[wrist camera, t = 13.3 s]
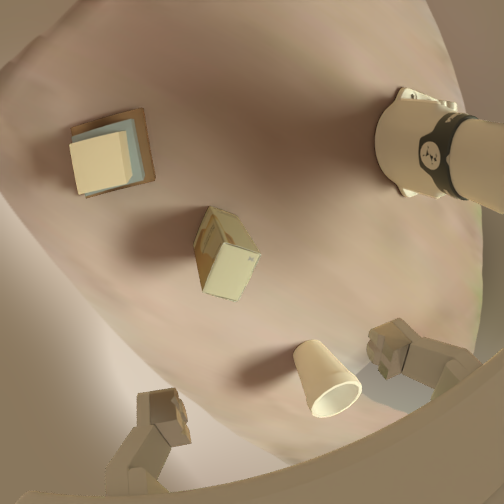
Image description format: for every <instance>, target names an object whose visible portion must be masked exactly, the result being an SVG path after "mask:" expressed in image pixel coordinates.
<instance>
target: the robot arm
mask: <svg viewBox="0 0 504 504" xmlns="http://www.w3.org/2000/svg"><path fill="white" fill-rule="evenodd" d="M375 151H376V156H377V160H378V163H379V165H380V167H381V169H382V171H383V172H384V174H385V175H386V176H387V177H388V178H389V179H390V180H392V181H393V182H394V183H395V184H397V186H398V188H399V190H400V192H401V193H402V195H403V196H404V197H408V198H410V197H413V196H415V195H417V194H422V195H425V196H429V197H432V198H435V199H439V198H440V197H441V196H444V195H445V194H448V195H449V196H451V197H453V198H456V199H461V200H471V201H473V202H476V203H478V204H480V205H483V206H485V207H487V208H489V209H492V210H494V211H496V212H498V213H500V214H503V215H504V123H498V122H491V121H484V120H479V119H478V118H477V117H475V116H472V115H469V114H466V113H458V111H457V104H456V103H454V102H450V101H443V100H437V99H435V98H432V97H430V96H427V95H425V94H422V93H420V92H417V91H415V90H412V89H409V88H401V89H400V91H399V92H398V94H397V97H396V99H395V101H394V102H393V103H392V104H391V105H390V106H389V107H388V108H387V109H386V110H385V111H384V112H383V114H382V116H381V117H380V119H379V122H378V125H377V128H376V134H375ZM368 337H369V338H370V341H369V342H368V344H367V354H368V357H369V359H370V360H371V362H372V363H373V364H376V365H378V371H379V372H380V373H381V374H382V375H383V377H384V378H385V379H386V380H387V379H390V378H392V377H394V376H396V375H398V374H400V373H402V374H403V375H405V376H407V377H409V378H412V379H414V380H416V381H418V382H420V383H422V384H424V385H427V386H429V387H431V388H433V389H435V390H434V392H433V394H432V396H431V401H430V402H429V403H427V404H426V405H424V406H422V407H421V408H419V409H417V410H415V411H414V412H412V413H410V414H408V415H407V416H405V417H403V418H401V419H399V420H398V421H396V422H394V423H392V424H390V425H388V426H386V427H384V428H382V429H380V430H378V431H376V432H374V433H372V434H370V435H368V436H366V437H364V438H362V439H359V440H357V441H355V442H353V443H350V444H348V445H346V446H343V447H341V448H339V449H336V450H334V451H331V452H329V453H326V454H324V455H321V456H318V457H316V458H313V459H310V460H308V461H305V462H302V463H299V464H296V465H293V466H290V467H287V468H284V469H280V470H277V471H274V472H270V473H267V474H263V475H260V476H256V477H252V478H248V479H244V480H240V481H235V482H231V483H226V484H221V485H216V486H211V487H205V488H199V489H193V490H186V491H179V492H170V493H169V491H168V490H167V489H166V488H164V487H163V486H162V485H161V484H160V483H159V482H158V481H157V479H158V477H159V475H160V472H161V470H162V468H163V466H164V464H165V462H166V459H167V457H168V455H169V453H170V451H171V447H176V446H181V445H187V444H191V438H190V432H189V429H188V427H187V425H186V423H187V422H188V419H187V414H186V410H185V407H184V404H183V402H182V400H181V399H179V396H178V392H177V390H176V388H168V389H162V390H156V391H150V392H143V393H138V395H137V427H133V429H132V430H131V432H130V433H129V435H128V436H127V438H126V439H125V440H124V442H123V443H122V445H121V446H120V448H119V449H118V451H117V452H116V454H115V455H114V457H113V458H112V459H111V461H110V462H109V464H108V465H107V467H106V468H105V469H106V470H105V490H106V491H105V492H106V496H82V495H67V494H55V493H47V492H40V491H28V492H26V493H25V494H24V495H22V496H21V497H20V499H19V500H18V501H17V502H16V503H15V504H504V348H503V349H502V350H500V351H499V352H498V353H497V354H496V355H494V356H493V357H492V358H491V359H489V360H488V361H487V362H486V363H484V364H482V363H481V362H480V361H479V360H478V359H477V358H476V357H475V356H474V355H473V354H472V353H470V352H469V351H468V350H467V349H465V348H461V347H458V346H454V345H451V344H447V343H444V342H440V341H437V340H433V339H430V338H426V337H423V338H421V337H420V336H419V335H418V334H417V333H416V332H415V331H414V330H413V329H412V328H411V327H410V326H409V325H408V324H407V323H406V322H405V321H404V320H402V319H401V318H397V319H395V320H392V321H390V322H387V323H385V324H382V325H380V326H378V327H375V328H373V329H371V330H370V331H369V336H368Z"/></svg>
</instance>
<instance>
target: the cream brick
mask: <svg viewBox="0 0 504 504" xmlns="http://www.w3.org/2000/svg"><path fill="white" fill-rule="evenodd" d="M69 146H70V153H71V159H72V165H73V170H74V175H75V181H76V185H77V190H78V195H80V194H84V193H88V192H92V191H97V190H101V189H106V188H110V187H115V186H119V185H124V184H127V183H128V181H129V180H130V178H131V177H132V168H131V162H130V155H129V149H128V141H127V134H126V131H120V132H115V133H111V134H107V135H102V136H98V137H94V138H90V139H86V140H83V141H79V142H75V143H72V144H69Z"/></svg>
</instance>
